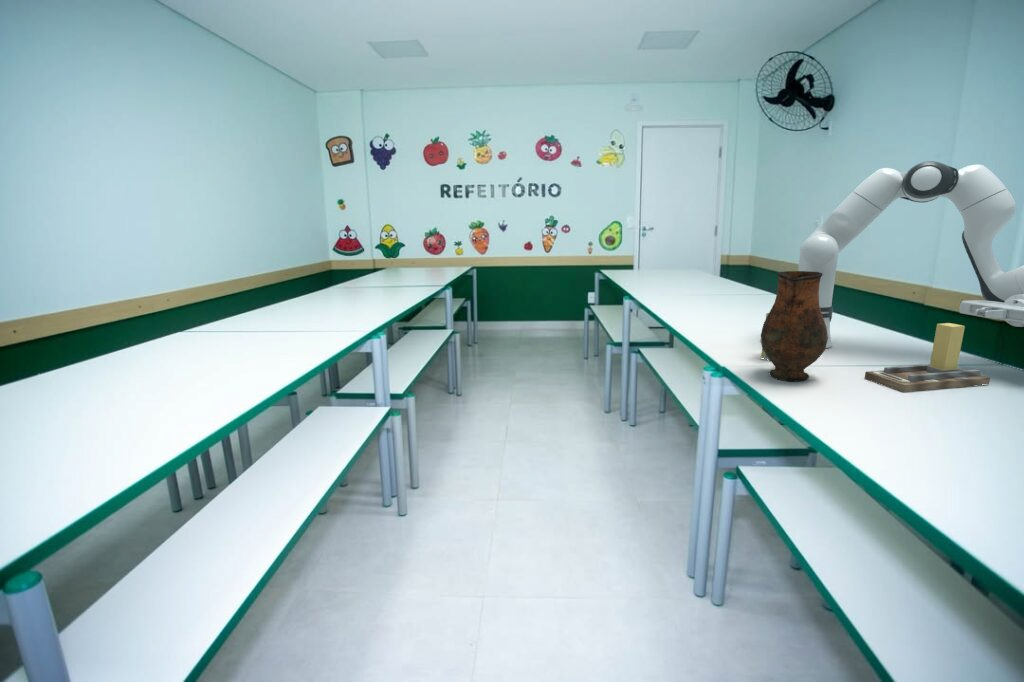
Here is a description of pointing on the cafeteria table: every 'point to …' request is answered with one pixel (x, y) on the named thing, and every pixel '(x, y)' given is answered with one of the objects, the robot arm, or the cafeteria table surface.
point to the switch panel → (924, 378)
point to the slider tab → (946, 348)
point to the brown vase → (795, 326)
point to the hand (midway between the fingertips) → (980, 313)
